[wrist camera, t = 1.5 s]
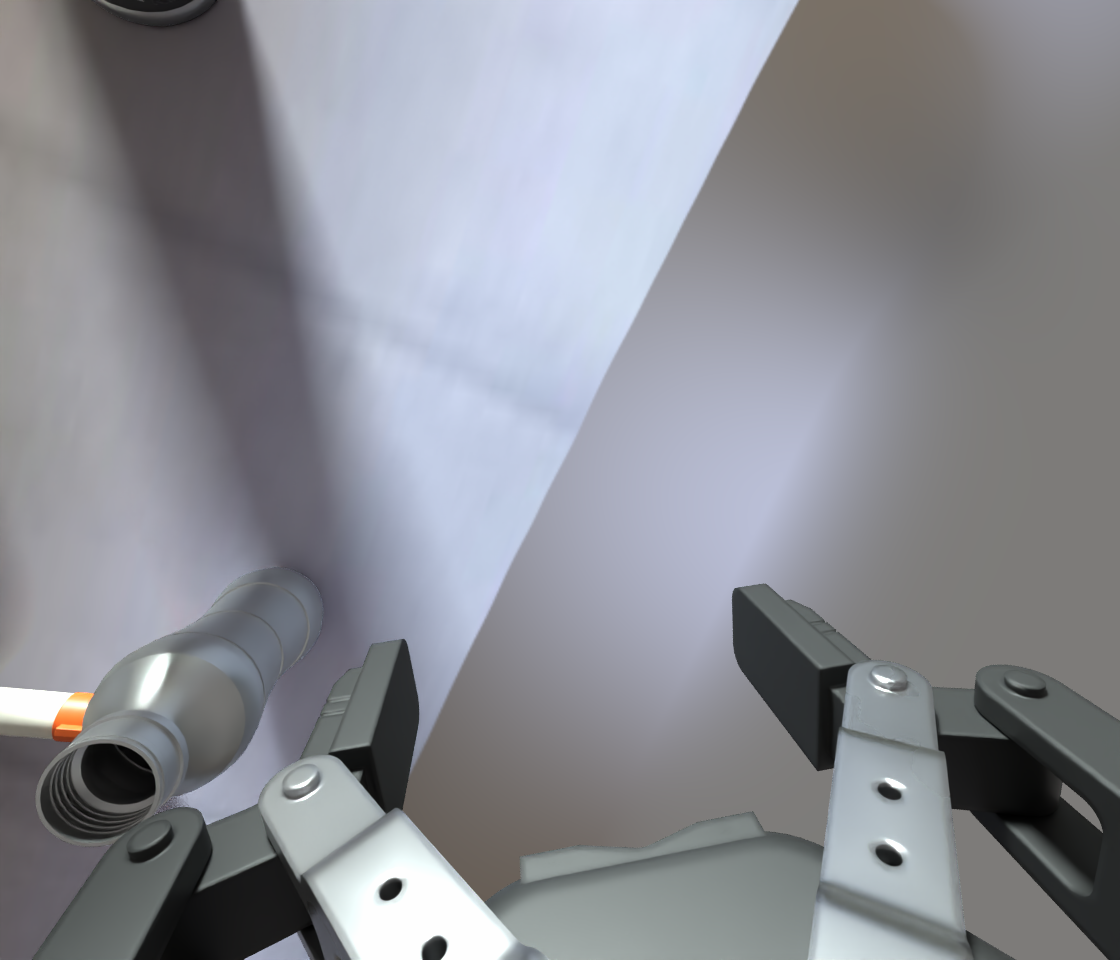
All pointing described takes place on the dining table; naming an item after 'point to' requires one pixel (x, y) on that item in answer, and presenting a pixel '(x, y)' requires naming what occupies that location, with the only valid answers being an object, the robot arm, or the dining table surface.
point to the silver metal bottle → (179, 709)
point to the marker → (42, 713)
